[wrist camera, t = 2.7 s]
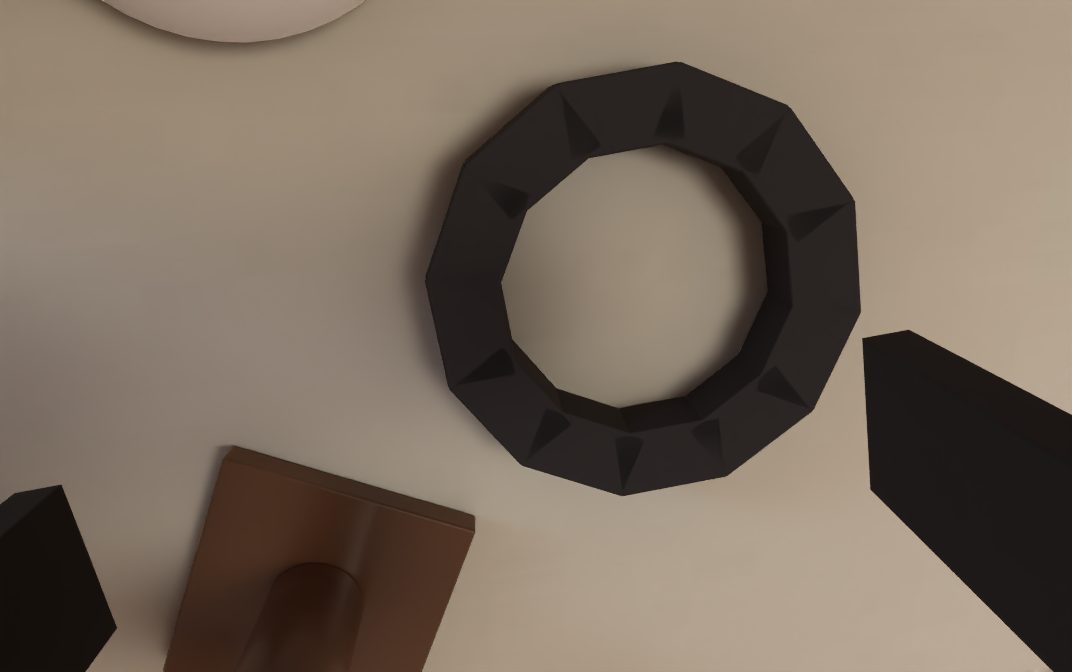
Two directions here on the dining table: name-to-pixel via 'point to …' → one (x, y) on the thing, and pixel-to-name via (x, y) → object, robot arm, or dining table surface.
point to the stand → (315, 574)
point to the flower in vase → (235, 17)
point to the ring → (773, 341)
